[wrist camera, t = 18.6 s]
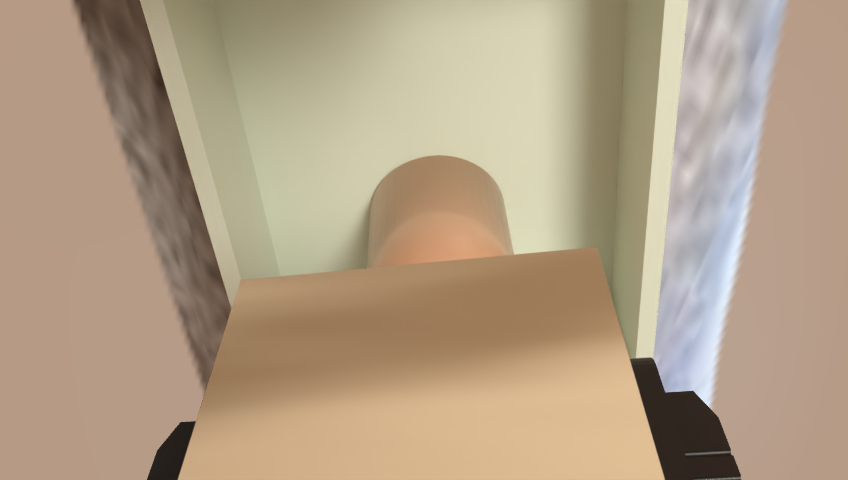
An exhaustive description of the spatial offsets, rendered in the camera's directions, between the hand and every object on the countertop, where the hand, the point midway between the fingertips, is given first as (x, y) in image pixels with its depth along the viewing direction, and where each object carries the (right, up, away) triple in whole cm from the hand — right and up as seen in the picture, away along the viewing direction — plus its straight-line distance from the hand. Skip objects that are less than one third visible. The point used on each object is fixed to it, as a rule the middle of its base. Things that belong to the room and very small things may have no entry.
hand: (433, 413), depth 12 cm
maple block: (0, 0, 0) cm, 0 cm away
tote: (0, +7, +16) cm, 17 cm away
